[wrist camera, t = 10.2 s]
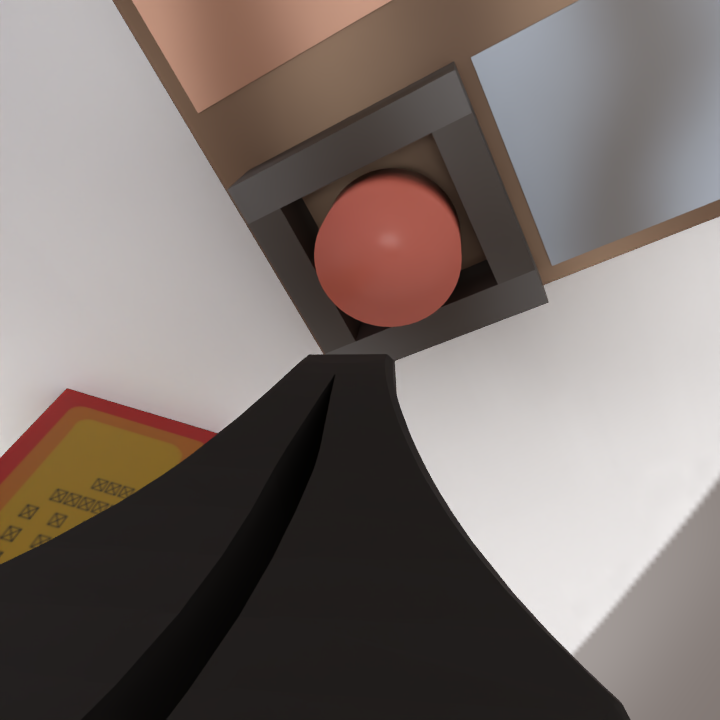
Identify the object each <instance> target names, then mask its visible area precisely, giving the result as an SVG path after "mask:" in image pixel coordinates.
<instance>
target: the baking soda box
mask: <svg viewBox="0 0 720 720" xmlns="http://www.w3.org/2000/svg"><path fill="white" fill-rule="evenodd" d="M217 434H218V433H214V432H211V431H208V430H204V429H201V428H198V427H194V426H191V425H188V424H184V423H181V422H178V421H174V420H171V419H167V418H164V417H161V416H157V415H154V414H151V413H147V412H144V411H141V410H137V409H134V408H131V407H127V406H124V405H121V404H117V403H114V402H111V401H107V400H104V399H101V398H97V397H94V396H91V395H87V394H84V393H80V392H77V391H74V390H70V389H66V390H65V391H64V392H63V393H62V394H61V395H60V396H59V397H58V398H57V399H56V400H55V401H54V402H53V403H52V405H51V406H50V407H49V408H48V409H47V410H46V411H45V412H44V413H43V414H42V415H41V416H40V417H39V418H38V419H37V420H36V421H35V422H34V423H33V424H32V425H31V426H30V427H29V428H28V430H27V431H26V432H25V433H24V434H23V435H22V436H21V437H20V438H19V439H18V440H17V441H16V442H15V443H14V444H13V445H12V446H11V447H10V448H9V449H8V450H7V451H6V452H5V454H4V455H3V456H2V457H1V458H0V564H2V563H4V562H6V561H8V560H10V559H12V558H14V557H17V556H19V555H21V554H23V553H25V552H27V551H29V550H31V549H33V548H35V547H37V546H39V545H41V544H43V543H45V542H47V541H49V540H51V539H53V538H55V537H57V536H58V535H60V534H62V533H64V532H66V531H68V530H69V529H71V528H73V527H75V526H77V525H79V524H80V523H82V522H84V521H86V520H88V519H90V518H91V517H93V516H95V515H97V514H99V513H101V512H102V511H104V510H106V509H108V508H110V507H112V506H113V505H115V504H117V503H119V502H120V501H122V500H123V499H125V498H127V497H128V496H130V495H132V494H133V493H135V492H136V491H138V490H139V489H141V488H143V487H144V486H146V485H147V484H149V483H150V482H152V481H154V480H155V479H157V478H158V477H160V476H161V475H163V474H164V473H166V472H167V471H169V470H170V469H172V468H173V467H174V466H176V465H177V464H179V463H180V462H182V461H183V460H184V459H186V458H187V457H188V456H190V455H191V454H192V453H194V452H195V451H196V450H198V449H199V448H200V447H201V446H203V445H204V444H205V443H206V442H208V441H209V440H210V439H212V438H213V437H214V436H215V435H217Z"/></svg>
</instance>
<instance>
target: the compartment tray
mask: <svg viewBox="0 0 720 720" xmlns="http://www.w3.org/2000/svg"><path fill="white" fill-rule="evenodd" d="M113 2H114V4H115V5H116V7H117V9H118V10H119V12H120V14H121V15H122V17H123V19H124V21H125V22H126V24H127V26H128V27H129V29H130V31H131V32H132V34H133V36H134V37H135V39H136V41H137V42H138V44H139V46H140V47H141V49H142V51H143V52H144V54H145V56H146V57H147V59H148V61H149V62H150V64H151V66H152V67H153V69H154V71H155V72H156V74H157V76H158V77H159V79H160V81H161V82H162V84H163V86H164V88H165V89H166V91H167V93H168V94H169V96H170V98H171V99H172V101H173V103H174V104H175V106H176V108H177V109H178V111H179V113H180V114H181V116H182V118H183V119H184V121H185V123H186V124H187V126H188V128H189V129H190V131H191V133H192V134H193V136H194V138H195V139H196V141H197V143H198V144H199V146H200V148H201V150H202V151H203V153H204V155H205V156H206V158H207V160H208V161H209V163H210V165H211V166H212V168H213V170H214V171H215V173H216V175H217V176H218V178H219V180H220V181H221V183H222V185H223V186H224V188H225V190H226V191H227V193H228V195H229V196H230V198H231V200H232V201H233V203H234V205H235V206H236V208H237V210H238V212H239V213H240V215H241V217H242V218H243V220H244V222H245V223H246V225H247V227H248V228H249V230H250V232H251V233H252V235H253V237H254V238H255V240H256V242H257V243H258V245H259V247H260V248H261V250H262V252H263V253H264V255H265V257H266V258H267V260H268V262H269V263H270V265H271V267H272V268H273V270H274V272H275V273H276V275H277V277H278V279H279V280H280V282H281V284H282V285H283V287H284V289H285V290H286V292H287V294H288V295H289V297H290V299H291V300H292V302H293V304H294V305H295V307H296V309H297V310H298V312H299V314H300V315H301V317H302V319H303V320H304V322H305V324H306V325H307V327H308V329H309V330H310V332H311V334H312V335H313V337H314V339H315V341H316V342H317V344H318V346H319V347H320V349H321V351H322V352H323V354H324V355H327V354H388V355H389V356H390V357H391V358H392V359H393V360H394V361H396V360H398V359H401V358H403V357H406V356H409V355H411V354H414V353H417V352H419V351H422V350H425V349H427V348H430V347H432V346H435V345H438V344H440V343H443V342H446V341H448V340H451V339H453V338H456V337H459V336H461V335H464V334H467V333H469V332H472V331H474V330H477V329H480V328H482V327H485V326H488V325H490V324H493V323H496V322H498V321H501V320H503V319H506V318H509V317H511V316H514V315H517V314H519V313H522V312H524V311H527V310H530V309H532V308H535V307H538V306H540V305H543V304H546V303H548V299H547V296H546V293H545V289H544V286H543V285H545V284H547V283H550V282H552V281H555V280H558V279H560V278H563V277H565V276H568V275H570V274H573V273H576V272H578V271H581V270H583V269H586V268H588V267H591V266H593V265H596V264H599V263H601V262H604V261H606V260H609V259H611V258H614V257H617V256H619V255H622V254H624V253H627V252H629V251H632V250H634V249H637V248H640V247H642V246H645V245H647V244H650V243H652V242H655V241H658V240H660V239H663V238H665V237H668V236H670V235H673V234H675V233H678V232H681V231H683V230H686V229H688V228H691V227H693V226H696V225H699V224H701V223H704V222H706V221H709V220H711V219H714V218H716V217H719V216H720V0H113ZM387 168H398V169H405V170H410V171H413V172H416V173H419V174H421V175H423V176H425V177H427V178H429V179H430V180H432V181H433V182H434V183H436V184H437V185H438V186H439V187H440V188H441V189H442V190H443V191H444V192H445V193H446V194H447V196H448V197H449V198H450V200H451V202H452V203H453V205H454V207H455V210H456V212H457V215H458V219H459V223H460V233H461V254H462V262H461V270H460V275H459V279H458V281H457V284H456V286H455V288H454V290H453V292H452V294H451V295H450V297H449V298H448V299H447V301H446V302H445V303H444V304H443V305H442V306H441V307H440V308H439V309H438V310H437V311H435V312H434V313H433V314H431V315H430V316H428V317H426V318H424V319H422V320H420V321H418V322H415V323H412V324H409V325H404V326H396V327H382V326H375V325H371V324H367V323H364V322H361V321H359V320H357V319H355V318H353V317H351V316H349V315H347V314H346V313H345V312H343V311H342V310H341V309H339V308H338V307H337V306H336V305H335V304H334V303H333V302H332V301H331V299H330V298H329V297H328V296H327V294H326V293H325V291H324V290H323V288H322V286H321V284H320V282H319V279H318V276H317V273H316V268H315V262H314V250H315V242H316V238H317V235H318V232H319V229H320V227H321V225H322V223H323V221H324V220H325V218H326V216H327V214H328V212H329V210H330V209H331V207H332V205H333V203H334V201H335V199H336V198H337V196H338V195H339V194H340V192H341V191H342V190H343V189H344V188H345V187H346V186H347V185H348V184H349V183H351V182H352V181H353V180H355V179H356V178H358V177H360V176H362V175H364V174H366V173H369V172H371V171H375V170H379V169H387Z"/></svg>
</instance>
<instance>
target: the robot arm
mask: <svg viewBox="0 0 720 720" xmlns="http://www.w3.org/2000/svg"><path fill="white" fill-rule="evenodd" d="M0 720H630V718H629V716H628V714H627V712H626V710H625V709H624V707H623V705H622V703H621V702H620V701H619V700H618V699H617V698H616V697H615V696H614V695H613V694H612V693H610V692H609V691H608V690H607V689H606V688H605V687H604V686H603V685H602V684H601V683H600V682H599V681H598V680H597V679H596V678H595V677H594V676H593V675H591V674H590V673H589V672H588V671H587V670H586V669H585V668H584V667H583V666H582V665H581V664H580V663H579V662H578V661H577V660H576V659H575V658H574V657H573V656H572V655H571V654H570V653H569V652H568V651H567V650H566V649H565V648H564V647H563V646H562V645H561V644H560V643H559V642H558V641H557V640H556V639H555V638H554V637H553V636H552V635H551V634H550V633H549V632H548V631H547V629H546V628H545V627H544V626H543V625H542V624H541V623H540V622H539V621H538V620H537V619H536V617H535V616H534V615H533V614H532V613H531V612H530V611H529V610H528V609H527V608H526V606H525V605H524V604H523V603H522V602H521V601H520V600H519V599H518V598H517V597H516V595H515V594H514V593H513V592H512V591H511V589H510V588H509V587H508V586H507V584H506V583H505V582H504V581H503V579H502V578H501V577H500V576H499V574H498V573H497V572H496V571H495V569H494V568H493V567H492V566H491V564H490V563H489V562H488V561H487V559H486V558H485V557H484V556H483V555H482V553H481V552H480V551H479V550H478V548H477V547H476V546H475V545H474V543H473V542H472V541H471V539H470V538H469V536H468V535H467V533H466V532H465V531H464V529H463V528H462V526H461V525H460V523H459V522H458V520H457V519H456V517H455V516H454V514H453V513H452V511H451V510H450V508H449V507H448V505H447V503H446V502H445V500H444V499H443V497H442V495H441V494H440V492H439V490H438V489H437V487H436V485H435V483H434V482H433V480H432V478H431V476H430V474H429V473H428V471H427V469H426V467H425V465H424V463H423V461H422V459H421V457H420V455H419V453H418V451H417V449H416V446H415V444H414V442H413V440H412V437H411V435H410V433H409V430H408V427H407V425H406V422H405V419H404V416H403V414H402V411H401V408H400V405H399V402H398V398H397V394H396V377H395V361H394V360H393V359H392V358H391V357H390V356H389V355H388V354H327V355H308V356H307V357H306V358H304V359H303V360H302V361H301V362H300V363H299V364H297V365H296V366H295V367H294V368H293V369H292V370H291V371H290V372H289V373H288V374H286V375H285V376H284V377H283V378H282V379H281V380H280V381H279V382H278V383H277V384H276V385H274V386H273V387H272V388H271V389H270V390H269V391H268V392H267V393H266V394H264V395H263V396H262V397H261V398H260V399H259V400H258V401H256V402H255V403H254V404H253V405H252V406H251V407H250V408H248V409H247V410H246V411H245V412H244V413H243V414H242V415H240V416H239V417H238V418H237V419H236V420H234V421H233V422H232V423H231V424H229V425H228V426H227V427H226V428H224V429H223V430H222V431H220V432H219V433H218V434H217V435H215V436H214V437H213V438H212V439H210V440H209V441H208V442H206V443H205V444H204V445H203V446H201V447H200V448H199V449H198V450H196V451H195V452H194V453H192V454H191V455H190V456H188V457H187V458H186V459H184V460H183V461H182V462H180V463H179V464H177V465H176V466H174V467H173V468H172V469H170V470H169V471H167V472H166V473H164V474H163V475H161V476H160V477H158V478H157V479H155V480H154V481H152V482H150V483H149V484H147V485H146V486H144V487H143V488H141V489H139V490H138V491H136V492H135V493H133V494H132V495H130V496H128V497H127V498H125V499H123V500H122V501H120V502H119V503H117V504H115V505H113V506H112V507H110V508H108V509H106V510H104V511H102V512H101V513H99V514H97V515H95V516H93V517H91V518H90V519H88V520H86V521H84V522H82V523H80V524H79V525H77V526H75V527H73V528H71V529H69V530H68V531H66V532H64V533H62V534H60V535H58V536H57V537H55V538H53V539H51V540H49V541H47V542H45V543H43V544H41V545H39V546H37V547H35V548H33V549H31V550H29V551H27V552H25V553H23V554H21V555H19V556H17V557H14V558H12V559H10V560H8V561H6V562H4V563H2V564H0Z"/></svg>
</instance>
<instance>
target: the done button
mask: <svg viewBox="0 0 720 720" xmlns="http://www.w3.org/2000/svg"><path fill="white" fill-rule="evenodd" d="M314 262H315V268H316V273H317V276H318V279H319V282H320V284H321V286H322V288H323V290H324V291H325V293H326V294H327V296H328V297H329V298H330V299H331V301H332V302H333V303H334V304H335V305H336V306H337V307H338V308H339V309H341V310H342V311H343V312H345V313H346V314H347V315H349V316H351V317H353V318H355V319H357V320H359V321H361V322H364V323H367V324H371V325H375V326H382V327H396V326H404V325H409V324H412V323H415V322H418V321H420V320H422V319H424V318H426V317H428V316H430V315H431V314H433V313H434V312H435V311H437V310H438V309H439V308H440V307H441V306H442V305H443V304H444V303H445V302H446V301H447V299H448V298H449V297H450V295H451V294H452V292H453V290H454V288H455V286H456V284H457V281H458V279H459V275H460V270H461V262H462V254H461V233H460V223H459V219H458V215H457V212H456V210H455V207H454V205H453V203H452V202H451V200H450V198H449V197H448V196H447V194H446V193H445V192H444V191H443V190H442V189H441V188H440V187H439V186H438V185H437V184H436V183H434V182H433V181H432V180H430V179H429V178H427V177H425V176H423V175H421V174H419V173H416V172H413V171H410V170H405V169H398V168H387V169H379V170H375V171H371V172H369V173H366V174H364V175H362V176H360V177H358V178H356V179H355V180H353V181H352V182H351V183H349V184H348V185H347V186H346V187H345V188H344V189H343V190H342V191H341V192H340V194H339V195H338V196H337V198H336V199H335V201H334V203H333V205H332V207H331V209H330V210H329V212H328V214H327V216H326V218H325V220H324V221H323V223H322V225H321V227H320V229H319V232H318V235H317V238H316V242H315V250H314Z"/></svg>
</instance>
